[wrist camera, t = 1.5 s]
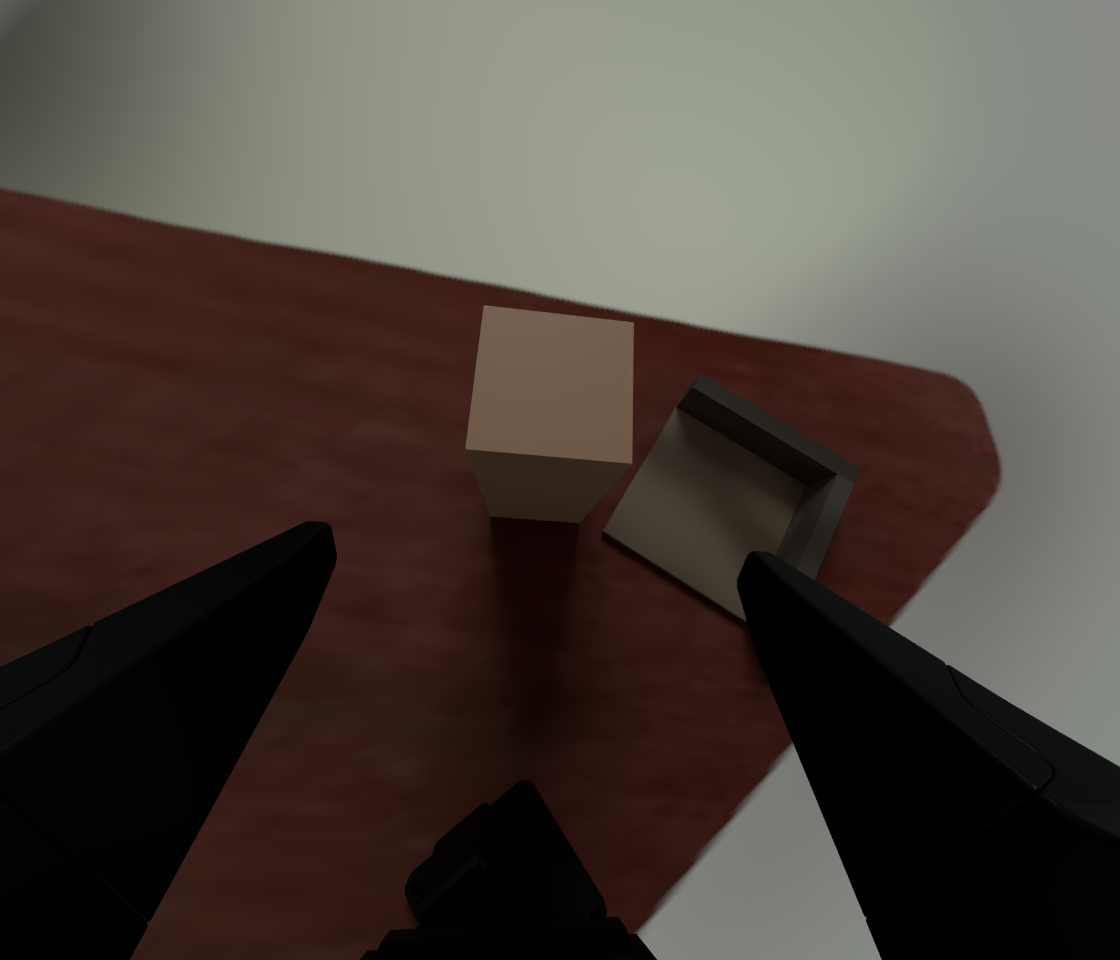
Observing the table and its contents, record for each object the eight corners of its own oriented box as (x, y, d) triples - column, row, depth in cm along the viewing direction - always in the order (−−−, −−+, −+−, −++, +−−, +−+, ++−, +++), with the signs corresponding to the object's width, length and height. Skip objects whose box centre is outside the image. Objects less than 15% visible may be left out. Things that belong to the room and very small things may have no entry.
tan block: (579, 523, 23) (631, 463, 12) (490, 516, 23) (465, 449, 12) (583, 439, 24) (633, 322, 14) (499, 432, 24) (483, 305, 13)
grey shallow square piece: (758, 630, 22) (792, 635, 20) (601, 531, 23) (613, 523, 20) (822, 482, 25) (859, 468, 22) (681, 397, 26) (700, 374, 23)
